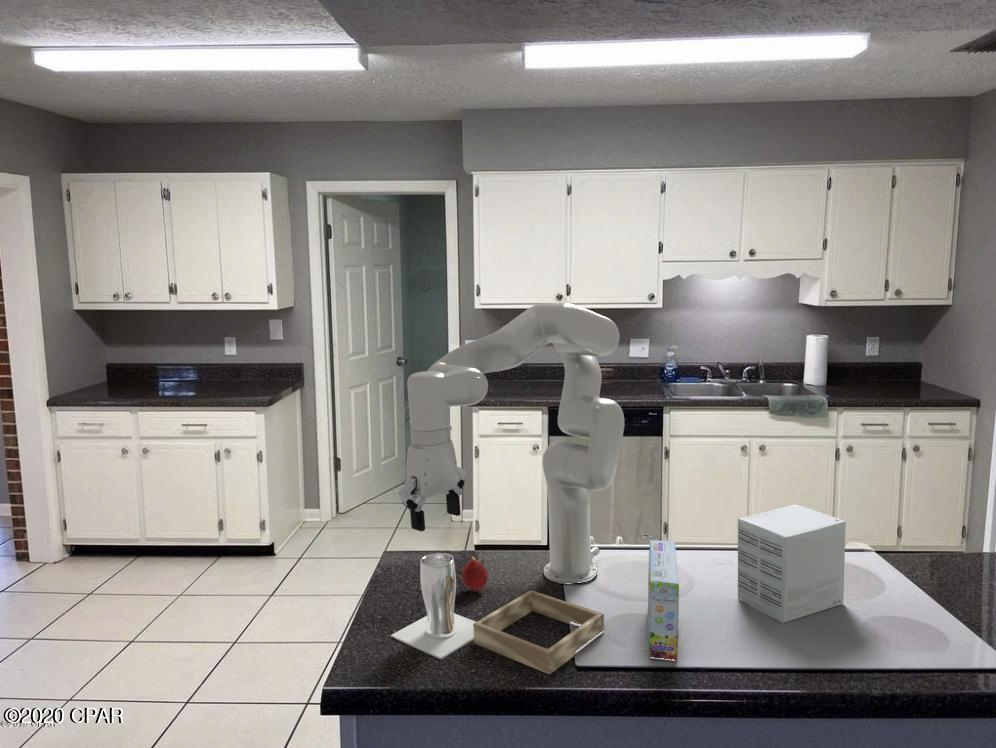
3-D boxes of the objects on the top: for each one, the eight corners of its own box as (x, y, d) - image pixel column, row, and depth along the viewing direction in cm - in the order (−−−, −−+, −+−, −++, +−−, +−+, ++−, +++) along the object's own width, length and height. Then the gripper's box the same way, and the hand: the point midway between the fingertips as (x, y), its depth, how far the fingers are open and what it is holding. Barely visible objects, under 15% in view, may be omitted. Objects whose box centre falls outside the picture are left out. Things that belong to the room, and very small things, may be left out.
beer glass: (466, 627, 143) (461, 556, 140) (444, 643, 137) (439, 569, 135) (439, 619, 147) (434, 550, 144) (416, 634, 141) (411, 562, 139)
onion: (492, 588, 161) (491, 554, 160) (481, 598, 156) (480, 564, 155) (469, 584, 164) (468, 550, 163) (458, 594, 159) (456, 560, 157)
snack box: (680, 663, 128) (680, 583, 126) (648, 660, 129) (647, 582, 127) (675, 608, 149) (675, 539, 146) (648, 606, 150) (647, 538, 148)
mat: (440, 610, 152) (440, 608, 152) (490, 629, 143) (490, 627, 143) (390, 636, 141) (390, 635, 141) (441, 659, 132) (441, 657, 132)
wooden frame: (531, 607, 151) (530, 590, 150) (604, 633, 139) (603, 613, 139) (474, 643, 138) (473, 623, 137) (549, 674, 126) (548, 653, 125)
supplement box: (793, 581, 159) (795, 502, 157) (845, 604, 147) (848, 520, 145) (734, 598, 152) (735, 517, 149) (783, 625, 140) (785, 537, 137)
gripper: (448, 425, 145) (453, 505, 148) (383, 444, 132) (390, 532, 135) (475, 429, 140) (480, 512, 143) (410, 449, 127) (417, 540, 130)
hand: (436, 521), depth 139 cm, fingers open, 9 cm apart
